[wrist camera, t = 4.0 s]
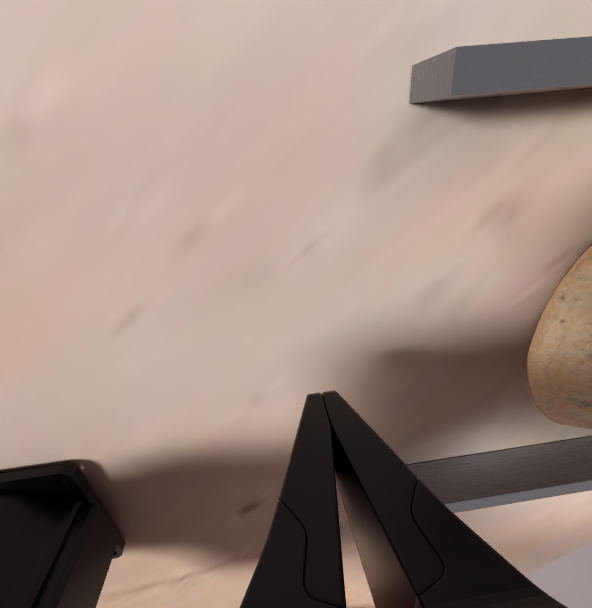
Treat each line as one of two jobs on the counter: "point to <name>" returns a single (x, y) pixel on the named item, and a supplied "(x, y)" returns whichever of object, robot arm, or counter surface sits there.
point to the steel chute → (485, 83)
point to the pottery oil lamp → (565, 350)
